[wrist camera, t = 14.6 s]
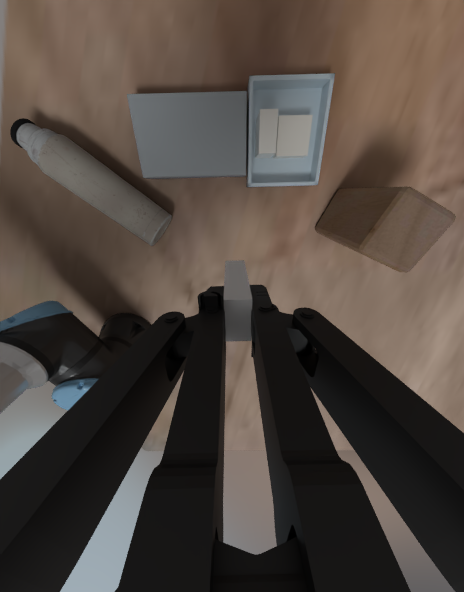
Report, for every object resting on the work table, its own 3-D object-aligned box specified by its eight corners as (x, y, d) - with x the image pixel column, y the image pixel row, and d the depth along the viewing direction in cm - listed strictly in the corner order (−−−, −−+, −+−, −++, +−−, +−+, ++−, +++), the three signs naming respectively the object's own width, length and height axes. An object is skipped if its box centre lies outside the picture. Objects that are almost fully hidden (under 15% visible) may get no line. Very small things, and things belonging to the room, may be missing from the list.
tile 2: (258, 153, 36) (275, 153, 36) (260, 109, 33) (278, 108, 33) (254, 158, 41) (269, 158, 41) (255, 120, 38) (271, 120, 38)
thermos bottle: (165, 232, 49) (44, 146, 41) (176, 209, 44) (38, 104, 35) (147, 252, 45) (7, 159, 36) (157, 229, 39) (-7, 112, 31)
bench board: (151, 178, 43) (143, 177, 39) (137, 104, 37) (126, 94, 33) (244, 176, 43) (246, 175, 39) (244, 101, 37) (246, 91, 33)
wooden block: (312, 229, 48) (360, 252, 30) (337, 186, 44) (411, 183, 26) (345, 246, 50) (408, 276, 32) (373, 206, 46) (463, 215, 28)
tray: (246, 187, 44) (248, 186, 40) (247, 86, 36) (249, 75, 33) (310, 185, 44) (317, 184, 40) (324, 84, 36) (334, 73, 33)
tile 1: (307, 155, 38) (302, 157, 41) (312, 114, 36) (306, 120, 38) (276, 156, 38) (273, 158, 41) (278, 115, 36) (275, 120, 38)
